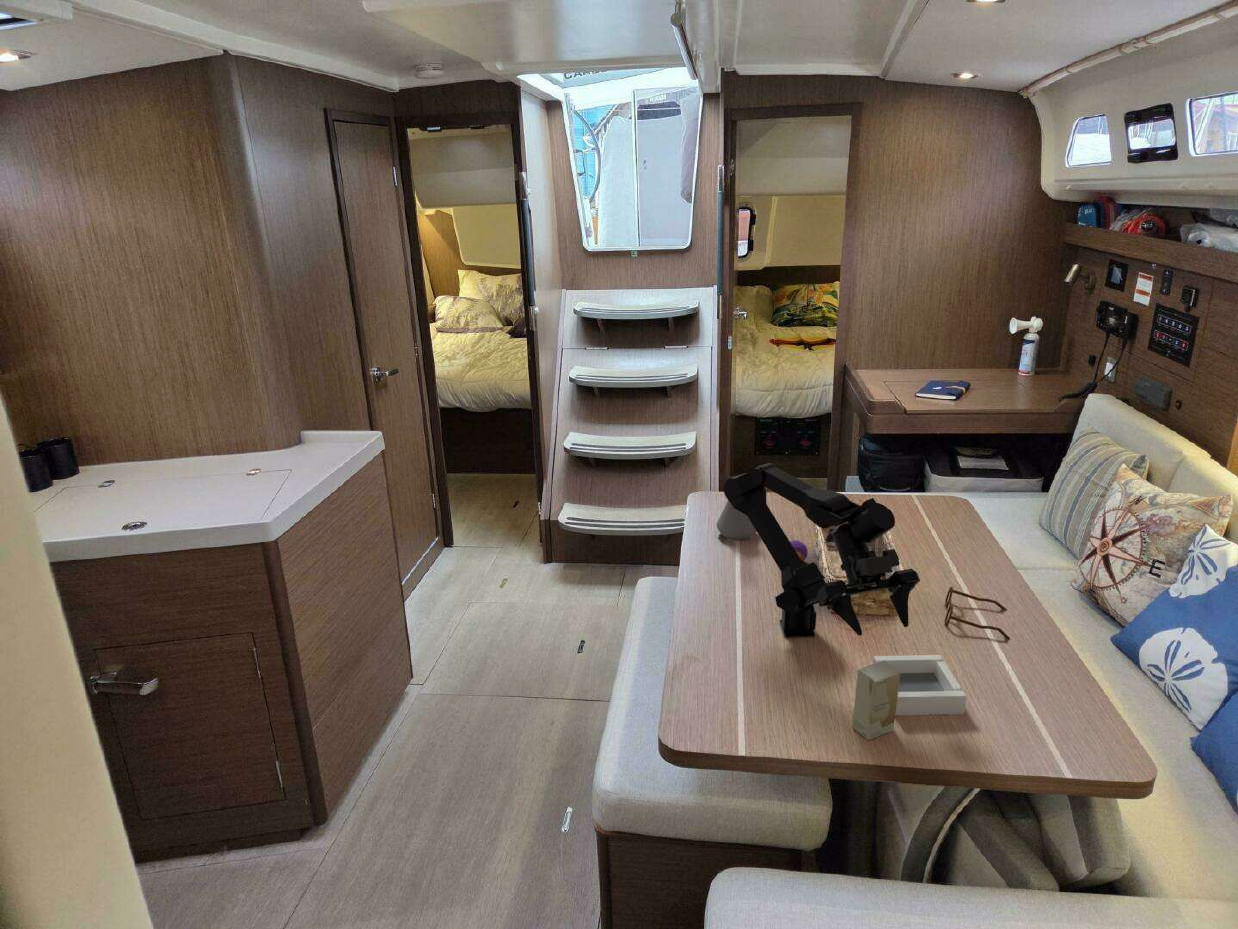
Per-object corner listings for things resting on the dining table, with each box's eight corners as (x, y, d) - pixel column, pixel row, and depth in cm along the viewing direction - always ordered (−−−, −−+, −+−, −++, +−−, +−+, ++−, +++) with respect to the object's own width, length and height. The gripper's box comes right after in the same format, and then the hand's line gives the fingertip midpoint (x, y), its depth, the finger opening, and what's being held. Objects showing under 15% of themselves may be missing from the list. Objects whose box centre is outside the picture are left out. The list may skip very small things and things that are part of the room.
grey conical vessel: (718, 524, 226) (719, 475, 221) (759, 527, 224) (761, 477, 219) (710, 558, 207) (711, 505, 202) (755, 562, 205) (757, 508, 199)
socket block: (892, 715, 147) (894, 697, 145) (871, 673, 159) (873, 656, 157) (963, 714, 146) (966, 696, 145) (937, 672, 159) (940, 655, 157)
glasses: (944, 601, 185) (947, 582, 183) (1006, 611, 180) (1009, 591, 178) (944, 631, 173) (946, 610, 172) (1010, 641, 169) (1014, 621, 167)
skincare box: (868, 741, 140) (874, 682, 136) (850, 727, 144) (856, 669, 140) (895, 729, 143) (902, 671, 139) (877, 716, 147) (883, 659, 142)
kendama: (784, 580, 188) (781, 537, 205) (787, 601, 190) (784, 557, 208) (810, 577, 186) (805, 534, 204) (813, 598, 188) (808, 554, 206)
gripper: (822, 543, 146) (851, 625, 139) (915, 528, 149) (948, 607, 142) (805, 567, 156) (831, 644, 148) (893, 552, 159) (923, 627, 151)
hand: (883, 630), depth 147 cm, fingers open, 9 cm apart
